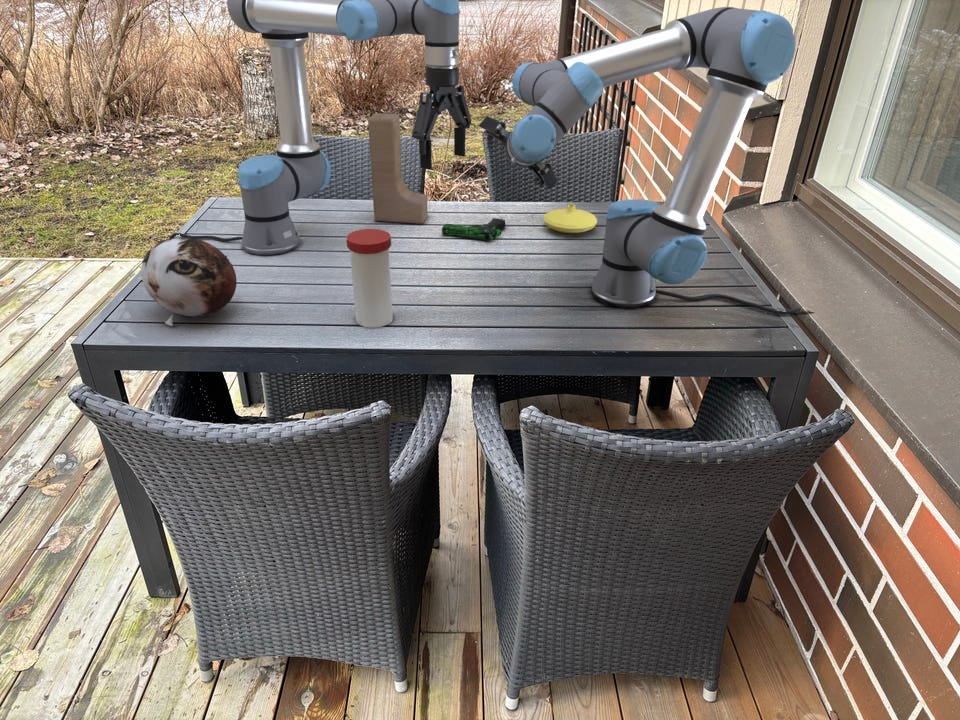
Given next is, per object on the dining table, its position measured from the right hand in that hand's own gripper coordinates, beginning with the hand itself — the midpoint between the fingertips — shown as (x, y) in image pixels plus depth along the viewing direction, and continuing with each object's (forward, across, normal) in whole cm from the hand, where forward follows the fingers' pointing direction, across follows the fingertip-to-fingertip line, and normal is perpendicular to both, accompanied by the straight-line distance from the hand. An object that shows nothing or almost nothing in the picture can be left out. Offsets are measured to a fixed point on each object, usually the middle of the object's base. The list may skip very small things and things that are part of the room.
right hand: (515, 156), depth 160 cm
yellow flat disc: (+48, +26, +1) cm, 55 cm away
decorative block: (+56, -14, -29) cm, 65 cm away
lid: (-11, -13, -34) cm, 38 cm away
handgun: (+46, +6, -18) cm, 50 cm away
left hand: (+11, -12, -11) cm, 19 cm away
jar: (-5, -1, -48) cm, 48 cm away
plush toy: (-1, -32, -73) cm, 80 cm away
